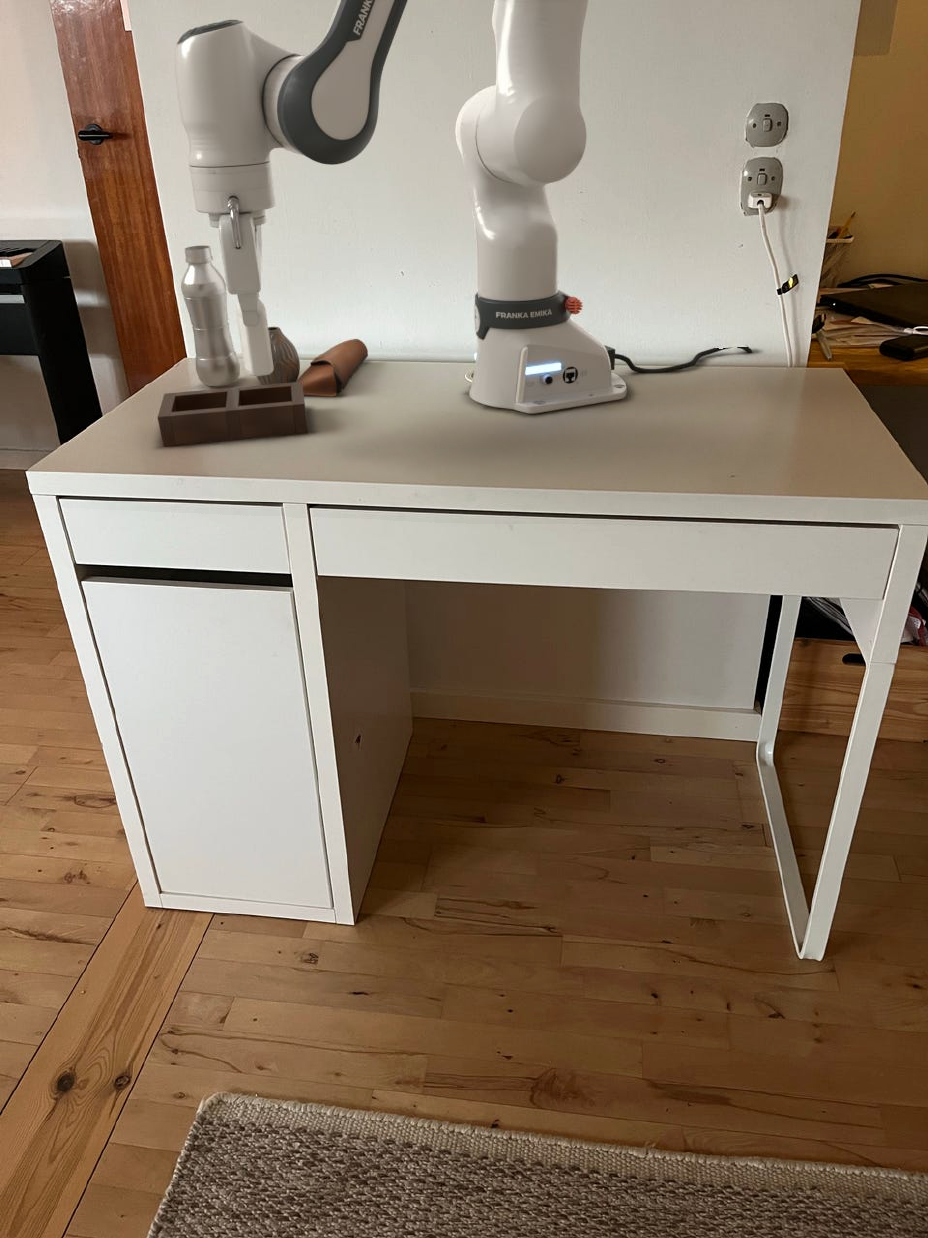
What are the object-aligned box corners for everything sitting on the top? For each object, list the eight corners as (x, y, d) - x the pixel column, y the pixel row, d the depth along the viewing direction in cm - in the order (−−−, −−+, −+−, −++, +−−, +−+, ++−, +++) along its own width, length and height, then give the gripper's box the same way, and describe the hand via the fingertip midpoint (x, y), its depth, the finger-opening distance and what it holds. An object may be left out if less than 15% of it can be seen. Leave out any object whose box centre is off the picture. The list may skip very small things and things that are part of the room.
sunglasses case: (317, 358, 156) (334, 322, 153) (356, 380, 157) (373, 345, 154) (287, 393, 141) (305, 354, 138) (330, 416, 142) (349, 378, 139)
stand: (305, 409, 136) (301, 381, 134) (308, 432, 127) (304, 403, 125) (169, 421, 133) (164, 393, 131) (163, 446, 125) (157, 416, 123)
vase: (293, 394, 142) (285, 334, 138) (249, 393, 143) (240, 334, 139) (308, 380, 148) (301, 322, 143) (266, 379, 149) (258, 322, 145)
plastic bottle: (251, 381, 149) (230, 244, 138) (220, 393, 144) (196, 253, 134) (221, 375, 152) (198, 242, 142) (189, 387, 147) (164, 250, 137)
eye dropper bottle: (233, 376, 115) (217, 273, 109) (251, 363, 120) (236, 263, 114) (267, 377, 114) (252, 273, 108) (284, 364, 119) (271, 263, 113)
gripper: (262, 201, 99) (280, 337, 106) (262, 180, 116) (277, 298, 123) (200, 205, 98) (222, 341, 105) (209, 183, 115) (227, 301, 122)
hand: (252, 317), depth 114 cm, fingers closed on eye dropper bottle, 5 cm apart
